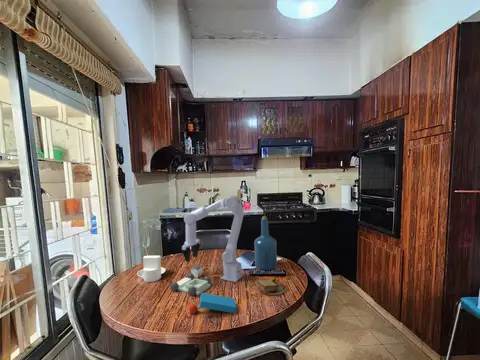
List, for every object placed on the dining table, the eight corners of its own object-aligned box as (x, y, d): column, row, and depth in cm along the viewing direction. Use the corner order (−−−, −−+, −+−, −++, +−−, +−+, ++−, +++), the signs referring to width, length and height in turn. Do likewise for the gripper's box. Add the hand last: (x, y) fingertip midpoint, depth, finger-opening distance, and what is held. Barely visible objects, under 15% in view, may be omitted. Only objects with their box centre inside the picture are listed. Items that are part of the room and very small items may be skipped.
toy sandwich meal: (290, 294, 107) (290, 284, 107) (262, 298, 104) (261, 288, 104) (279, 282, 119) (279, 273, 119) (254, 286, 116) (254, 276, 116)
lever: (230, 314, 100) (188, 307, 98) (234, 298, 100) (193, 291, 98) (232, 324, 93) (187, 317, 91) (236, 307, 94) (191, 299, 91)
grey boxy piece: (202, 274, 132) (201, 265, 132) (197, 277, 128) (197, 268, 128) (195, 273, 134) (195, 264, 134) (191, 276, 130) (190, 267, 130)
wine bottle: (258, 272, 132) (257, 219, 132) (252, 264, 145) (250, 215, 145) (281, 269, 135) (279, 217, 135) (272, 261, 148) (271, 214, 148)
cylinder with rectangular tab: (163, 274, 133) (163, 253, 133) (156, 281, 124) (155, 259, 124) (148, 274, 134) (148, 253, 134) (140, 281, 125) (139, 259, 125)
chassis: (212, 285, 118) (211, 277, 118) (195, 297, 107) (195, 288, 107) (187, 279, 126) (187, 272, 126) (169, 290, 114) (169, 282, 114)
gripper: (192, 231, 138) (192, 254, 138) (177, 237, 124) (177, 262, 124) (202, 232, 135) (202, 255, 135) (188, 238, 122) (188, 264, 122)
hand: (191, 259), depth 130 cm, fingers open, 7 cm apart
